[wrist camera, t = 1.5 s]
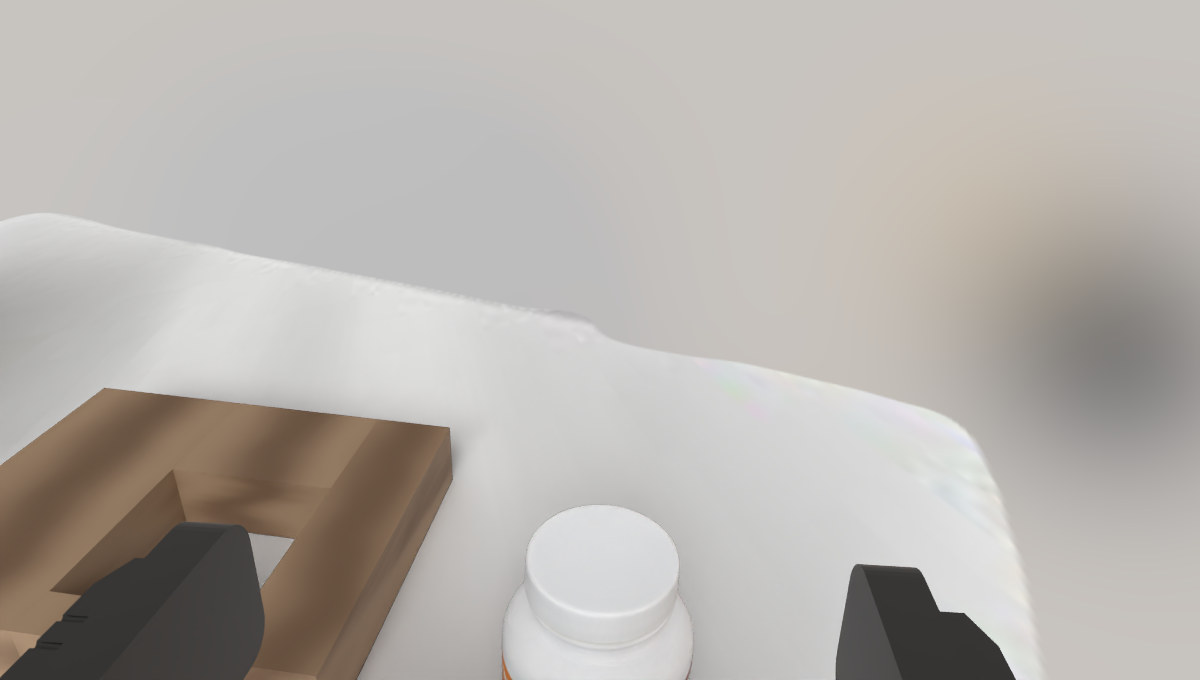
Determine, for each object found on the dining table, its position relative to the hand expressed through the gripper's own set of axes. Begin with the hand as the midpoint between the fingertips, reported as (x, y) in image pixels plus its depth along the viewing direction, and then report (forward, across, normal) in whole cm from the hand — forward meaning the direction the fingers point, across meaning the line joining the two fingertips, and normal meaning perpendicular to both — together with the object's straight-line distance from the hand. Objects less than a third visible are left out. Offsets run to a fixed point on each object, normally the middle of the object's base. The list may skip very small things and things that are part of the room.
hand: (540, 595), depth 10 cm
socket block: (+21, +20, +17) cm, 34 cm away
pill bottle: (+12, 0, +19) cm, 23 cm away
